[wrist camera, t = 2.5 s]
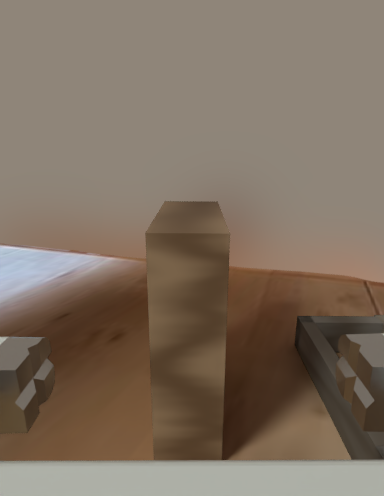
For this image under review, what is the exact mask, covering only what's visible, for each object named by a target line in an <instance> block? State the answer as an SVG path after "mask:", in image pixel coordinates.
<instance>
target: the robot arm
mask: <svg viewBox="0 0 384 496" xmlns="http://www.w3.org/2000/svg"><path fill="white" fill-rule="evenodd" d="M338 350H339V351H340V353H341V354H342V355H343V356H342V357H341V358H340V359H339V360H338V361H337V363H336V372H335V375H336V382H337V386H338V389H339V392H340V393H341V395H342V397H343V399H345V400H347V401H348V402H350V403H351V404H352V406H351V412H352V414H353V415H354V417H355V419H356V420H357V422H358V424H359V425H360V427H361V429H362V430H363V431H368V432H384V333H376V334H347V335H341V336H340V339H339V343H338ZM51 352H52V351H51V346H50V341H49V340H48V339H47V338H46V337H0V434H12V433H28V431H29V430H30V428H31V426H32V425H33V423H34V421H35V420H36V418H37V417H38V415H39V413H40V412H39V406H40V405H41V404H43V403H44V402H46V401H47V400H48V398H49V396H50V395H51V393H52V389H53V386H54V382H55V371H54V365H53V364H52V363H51V362H50V361H49V360H48V359H47V358H48V356H49V355H50V353H51ZM0 496H384V460H136V461H0Z"/></svg>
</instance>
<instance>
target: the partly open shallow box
mask: <svg viewBox="0 0 384 496" xmlns="http://www.w3.org/2000/svg"><path fill="white" fill-rule="evenodd" d="M376 333H384V315H374V317H358V316H297V326H296V336H295V346H296V348H297V350H298V352H299V354H300V356H301V358H302V360H303V362H304V364H305V366H306V368H307V370H308V372H309V374H310V376H311V378H312V380H313V382H314V384H315V386H316V388H317V390H318V392H319V394H320V396H321V398H322V400H323V402H324V404H325V406H326V408H327V410H328V412H329V414H330V416H331V418H332V420H333V422H334V424H335V426H336V428H337V430H338V432H339V434H340V437H341V439H342V441H343V443H344V445H345V447H346V449H347V451H348V453H349V455H350V457H351V459H352V460H384V432H368V431H363V430H362V429H361V427H360V425H359V424H358V422H357V420H356V419H355V417H354V415H353V414H352V412H351V406H352V404H351V403H350V402H348V401H347V400H345V399H343V397H342V395H341V393H340V392H339V389H338V386H337V382H336V375H335V372H336V363H337V361H338V360H339V357H338V356H337V354H336V353H335V352H340V351H339V350H338V343H339V339H340V336H341V335H347V334H376Z"/></svg>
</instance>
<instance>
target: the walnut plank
mask: <svg viewBox="0 0 384 496" xmlns="http://www.w3.org/2000/svg"><path fill="white" fill-rule="evenodd" d="M229 243H230V233H229V230H228V227H227V225H226V222H225V220H224V217H223V214H222V212H221V209H220V207H219V204H218V202H174V201H173V202H171V201H170V202H169V201H165V202H164V204H163V205H162V207H161V209H160V210H159V212H158V213H157V215H156V217H155V219H154V220H153V222H152V223H151V225H150V227H149V228H148V230H147V231H146V260H147V287H148V314H149V341H150V368H151V395H152V422H153V449H154V460H222V440H223V412H224V384H225V357H226V329H227V301H228V273H229Z"/></svg>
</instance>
